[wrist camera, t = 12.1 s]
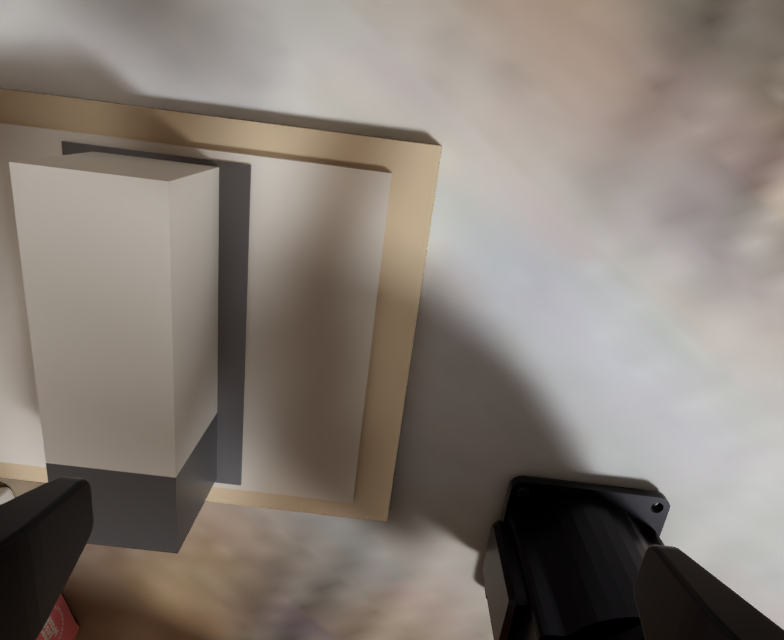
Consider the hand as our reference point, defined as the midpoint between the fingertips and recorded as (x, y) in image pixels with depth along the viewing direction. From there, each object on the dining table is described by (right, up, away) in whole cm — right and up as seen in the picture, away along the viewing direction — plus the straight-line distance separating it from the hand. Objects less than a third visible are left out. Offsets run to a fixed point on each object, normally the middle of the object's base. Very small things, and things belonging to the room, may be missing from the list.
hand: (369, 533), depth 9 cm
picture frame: (-9, +3, +12) cm, 15 cm away
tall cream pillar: (-8, +3, +11) cm, 14 cm away
